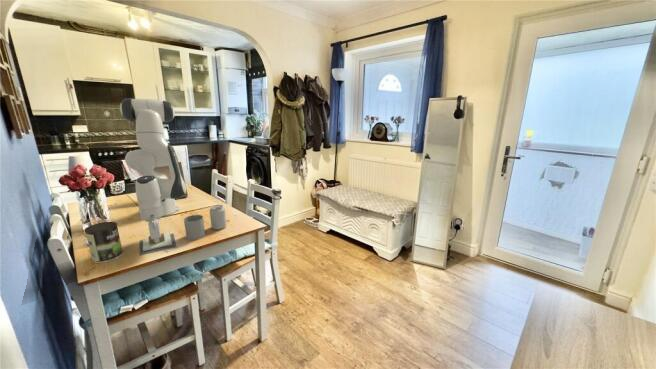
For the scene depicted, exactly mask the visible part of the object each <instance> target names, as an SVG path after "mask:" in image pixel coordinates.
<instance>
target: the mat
mask: <svg viewBox="0 0 656 369" xmlns="http://www.w3.org/2000/svg"><path fill="white" fill-rule="evenodd" d="M169 234H170V237H171V242H172V245H169V246H164V247H160V248H156V249H151V250H147V251H143V239H140V240H139V254H138V255H139V257H140V256H145V255H149V254H153V253H157V252H161V251H166V250H170V249H174V248H178V247H177V242H176V237H175V235H174V233H169Z"/></svg>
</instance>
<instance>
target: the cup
mask: <svg viewBox="0 0 656 369" xmlns="http://www.w3.org/2000/svg"><path fill="white" fill-rule="evenodd" d="M204 222H205V221H204V216H203V215H201V214H194V215H192V214H191V215H189V216H186V217H184V219H183V224H184V230H185V237H186V239H187V240H189V241H195V240H200V239H203V238H204V237H206V229H205V223H204Z"/></svg>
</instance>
